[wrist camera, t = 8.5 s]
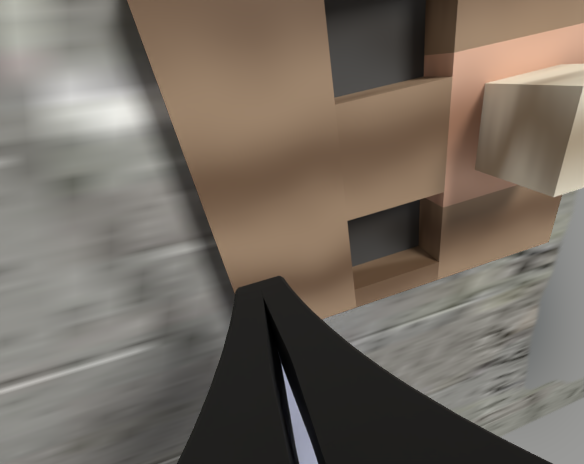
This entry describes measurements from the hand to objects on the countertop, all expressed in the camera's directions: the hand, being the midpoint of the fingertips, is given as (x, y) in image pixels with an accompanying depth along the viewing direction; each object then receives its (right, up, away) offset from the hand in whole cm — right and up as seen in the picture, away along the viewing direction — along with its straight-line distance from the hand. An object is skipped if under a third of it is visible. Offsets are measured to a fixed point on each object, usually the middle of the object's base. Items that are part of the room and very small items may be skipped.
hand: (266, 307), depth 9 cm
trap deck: (+6, +8, +9) cm, 13 cm away
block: (+13, +8, +7) cm, 17 cm away
